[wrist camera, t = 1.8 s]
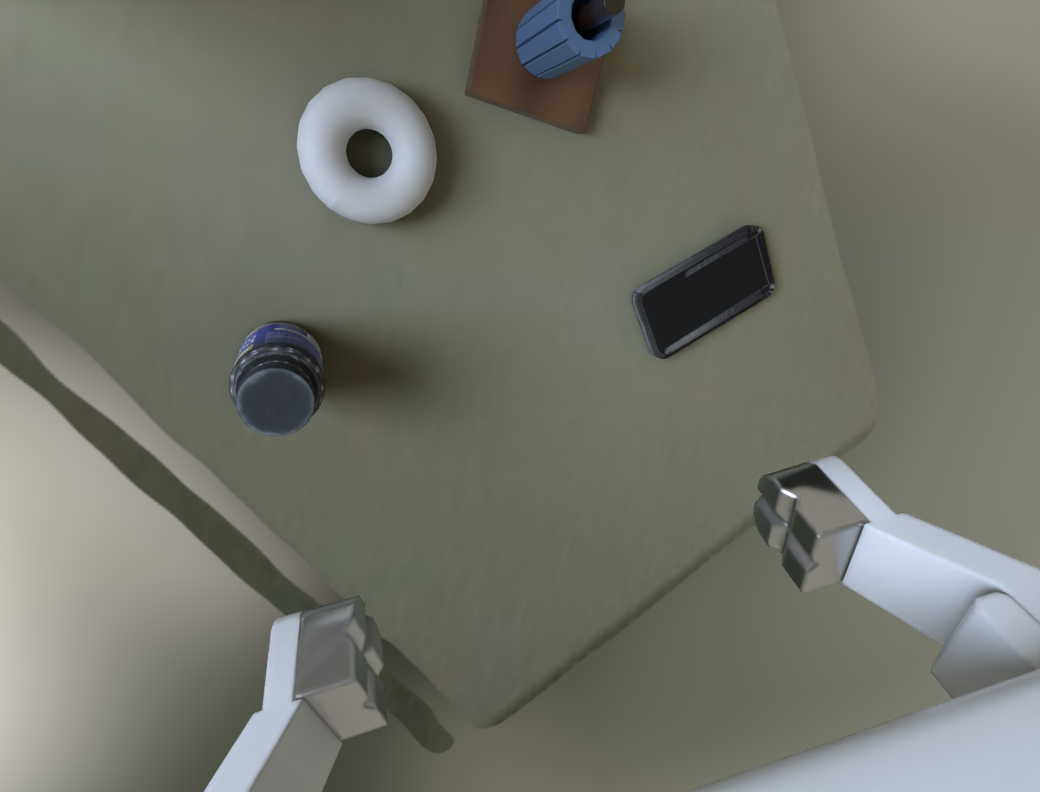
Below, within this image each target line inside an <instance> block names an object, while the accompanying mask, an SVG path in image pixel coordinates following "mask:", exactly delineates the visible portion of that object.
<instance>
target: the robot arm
mask: <svg viewBox="0 0 1040 792" xmlns="http://www.w3.org/2000/svg"><path fill="white" fill-rule="evenodd" d="M758 490H759V491H760V492H761V494H762V495H761V496H760V498H759V499H758V500H757V501H756V502H755V505H754V513H753V514H754V518H755V522H756V526H757V528H758V531H759V533H760V535H761V536H762V538H763V539H764V541H765V542H766V544H767V545H768V547H770V548H772V549H774V550H776V551H778V552H780V553H782V566H783V567H784V569H785V570H786V571H787V573H788V574H789V576H790V577H791V578H792V580H793V581H794V582H795V584H796V585H797V586H798V588H799V589H800V590H801V592H806V591H810V590H813V589H817V588H820V587H824V586H827V585H831V584H834V583H838V582H841V581H843V582H842V584H844V585H845V586H847V587H849V588H850V589H852V590H853V591H855V592H856V593H858V594H860V595H861V596H863V597H865V598H866V599H868V600H869V601H871V602H873V603H874V604H876V605H878V606H879V607H881V608H882V609H884V610H886V611H887V612H889V613H891V614H892V615H894V616H896V617H897V618H899V619H900V620H902V621H903V622H905V623H907V624H908V625H910V626H912V627H913V628H915V629H916V630H918V631H920V632H921V633H923V634H925V635H927V636H928V637H930V638H931V639H933V640H934V641H936V642H938V643H939V644H941V645H943V646H944V647H943V648H942V650H941V652H940V653H939V654H938V656H937V657H936V659H935V660H934V662H933V663H932V668H931V673H932V674H933V675H934V676H935V678H936V679H937V680H938V682H939V683H940V684H941V685H942V687H943V688H944V689H945V690H946V692H947V693H948V694H949V695H950V697H951V698H952V699H951V700H948V701H945V702H942V703H939V704H936V705H933V706H930V707H928V708H925V709H922V710H919V711H916V712H914V713H911V714H908V715H905V716H902V717H899V718H896V719H893V720H890V721H887V722H885V723H882V724H879V725H876V726H873V727H870V728H868V729H864V730H862V731H859V732H856V733H853V734H850V735H847V736H844V737H841V738H839V739H836V740H833V741H830V742H827V743H824V744H821V745H818V746H816V747H813V748H810V749H807V750H804V751H802V752H798V753H796V754H793V755H790V756H787V757H784V758H781V759H779V760H776V761H773V762H770V763H767V764H764V765H761V766H758V767H756V768H753V769H750V770H747V771H744V772H741V773H738V774H735V775H732V776H730V777H727V778H724V779H721V780H718V781H715V782H712V783H709V784H707V785H704V786H701V787H698V788H695V789H693V790H689V791H686V792H1040V569H1039V568H1037V567H1035V566H1032V565H1030V564H1027V563H1025V562H1023V561H1020V560H1018V559H1015V558H1013V557H1010V556H1008V555H1005V554H1003V553H1001V552H998V551H996V550H993V549H991V548H989V547H986V546H984V545H981V544H979V543H976V542H974V541H972V540H969V539H967V538H964V537H961V536H959V535H957V534H954V533H952V532H950V531H947V530H945V529H942V528H940V527H938V526H935V525H933V524H930V523H928V522H925V521H923V520H920V519H918V518H916V517H913V516H910V515H908V514H906V513H899V514H896V513H895V512H894V511H893V510H892V509H891V508H890V507H889V506H888V505H887V504H886V503H885V502H884V501H883V500H882V499H881V498H880V497H879V496H877V494H876V493H875V492H874V491H873V490H872V489H870V487H869V486H868V485H866V483H865V482H863V480H862V479H860V478H859V477H858V476H857V475H856V474H855V473H854V472H853V471H852V470H851V469H850V468H849V467H848V466H847V465H846V464H845V463H844V462H843V461H842V460H841V459H840V458H838V457H836V456H834V455H832V456H827V457H824V458H821V459H817V460H814V461H811V462H805V463H802V464H799V465H795V466H792V467H789V468H786V469H783V470H779V471H776V472H773V473H770V474H767V475H763V476H762V477H761V478H760V480H759V483H758ZM383 666H384V661H383V649H382V644H381V638H380V634H379V631H378V628H377V625H376V623H375V621H374V619H373V618H372V617H370V616H367V615H365V604H364V602H363V601H362V599H361V598H360V596H355V597H352V598H348V599H344V600H341V601H338V602H334V603H330V604H327V605H323V606H319V607H316V608H312V609H308V610H304V611H300V612H297V613H294V614H290V615H287V616H284V617H280V618H277V619H275V622H274V624H273V627H272V629H271V637H270V646H269V655H268V664H267V672H266V681H265V690H264V699H263V708H262V711H259V712H256V713H254V714H253V715H252V717H251V719H250V720H249V722H248V723H247V725H246V726H245V728H244V730H243V731H242V733H241V735H240V736H239V737H238V739H237V741H236V742H235V744H234V745H233V747H232V748H231V750H230V751H229V753H228V755H227V756H226V758H225V759H224V761H223V762H222V764H221V766H220V767H219V769H218V770H217V772H216V773H215V775H214V777H213V778H212V780H211V781H210V783H209V784H208V786H207V788H206V789H205V791H204V792H322V789H323V787H324V785H325V783H326V780H327V778H328V776H329V773H330V771H331V768H332V766H333V764H334V762H335V759H336V757H337V755H338V752H339V750H340V747H341V745H342V742H341V741H342V740H345V739H348V738H351V737H354V736H357V735H359V734H362V733H365V732H368V731H371V730H374V729H377V728H380V727H382V726H385V725H387V717H386V696H385V688H384V686H383V684H382V683H381V681H380V680H379V678H378V675H379V673H380V671H381V669H382V668H383Z"/></svg>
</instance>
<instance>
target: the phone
mask: <svg viewBox="0 0 1040 792" xmlns="http://www.w3.org/2000/svg"><path fill="white" fill-rule="evenodd" d="M774 286H775V282H774V277H773V273H772V269H771V264H770V260H769V256H768V251H767V247H766V242H765V238H764V234H763V231H762V229H761V228H760V227H759V226H752V225H746V226H744V227H742V228H740V229H738V230H737V231H735V232H733V233H731V234H730V235H728V236H726V237H725V238H723V239H721V240H719V241H718V242H716V243H714V244H712V245H711V246H709V247H707V248H706V249H704V250H702V251H700V252H699V253H697V254H695V255H693V256H692V257H690V258H688V259H687V260H685V261H683V262H681V263H680V264H678V265H676V266H675V267H673V268H671V269H669V270H668V271H666V272H664V273H662V274H661V275H659V276H657V277H656V278H654V279H652V280H650V281H649V282H647V283H645V284H644V285H642V286H640V287H638V288H637V289H636V290H635V292H634V293H633V296H632V303H633V306H634V309H635V312H636V315H637V317H638V320H639V323H640V326H641V329H642V331H643V334H644V337H645V340H646V342H647V345H648V348H649V351H650V353H651V354H652V355H654V356H656V357H658V358H660V359H666V358H668V357H670V356H672V355H673V354H675V353H677V352H678V351H680V350H681V349H683V348H685V347H686V346H688V345H690V344H691V343H693V342H695V341H696V340H698V339H700V338H701V337H703V336H705V335H706V334H708V333H709V332H711V331H713V330H714V329H716V328H718V327H719V326H721V325H723V324H724V323H726V322H728V321H729V320H731V319H733V318H734V317H736V316H737V315H739V314H741V313H742V312H744V311H746V310H747V309H749V308H751V307H752V306H754V305H756V304H757V303H759V302H761V301H762V300H764V299H765V298H767V297H769V296H770V295H771V294H772V292H773V290H774Z"/></svg>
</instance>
